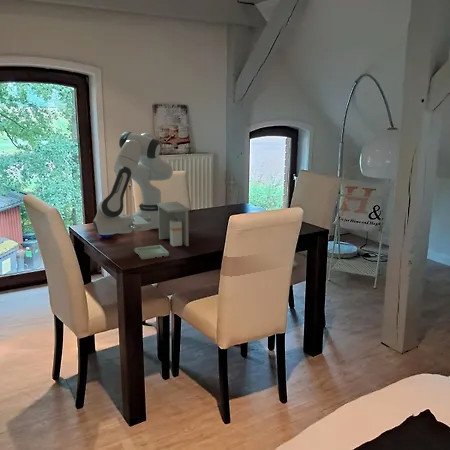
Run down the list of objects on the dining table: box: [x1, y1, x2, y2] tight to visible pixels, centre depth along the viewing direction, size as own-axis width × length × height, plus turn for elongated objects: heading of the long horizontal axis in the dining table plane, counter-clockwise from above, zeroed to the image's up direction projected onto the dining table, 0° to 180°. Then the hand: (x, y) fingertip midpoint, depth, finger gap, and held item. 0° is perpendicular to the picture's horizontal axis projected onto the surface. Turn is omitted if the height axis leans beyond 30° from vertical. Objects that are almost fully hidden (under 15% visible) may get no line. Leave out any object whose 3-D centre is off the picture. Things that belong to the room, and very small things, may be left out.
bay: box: [157, 201, 190, 247], centre depth 262 cm, size 11×20×20 cm, turn 25°
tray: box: [134, 244, 170, 260], centre depth 244 cm, size 14×14×2 cm
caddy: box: [169, 217, 183, 247], centre depth 258 cm, size 5×5×14 cm
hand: (153, 221), depth 251 cm, fingers open, 8 cm apart
